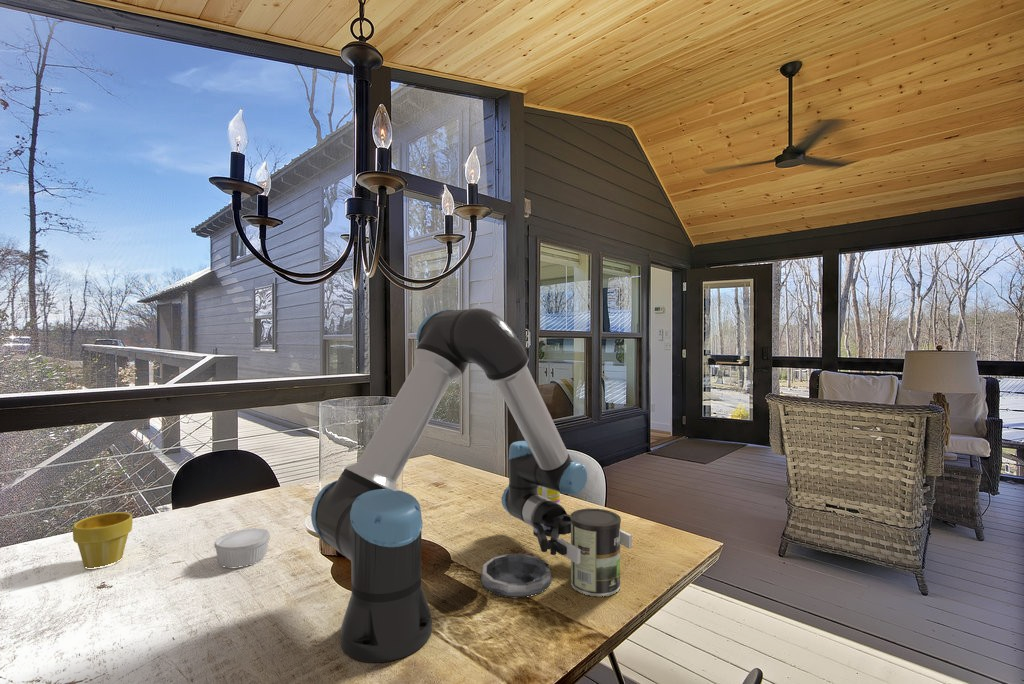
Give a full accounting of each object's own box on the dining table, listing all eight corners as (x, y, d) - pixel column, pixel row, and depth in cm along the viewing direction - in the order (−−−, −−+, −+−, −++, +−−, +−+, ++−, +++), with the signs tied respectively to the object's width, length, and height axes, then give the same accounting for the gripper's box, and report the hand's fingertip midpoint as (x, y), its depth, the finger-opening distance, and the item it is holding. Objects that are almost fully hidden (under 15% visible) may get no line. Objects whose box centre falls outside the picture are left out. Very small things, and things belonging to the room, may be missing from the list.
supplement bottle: (563, 502, 152) (563, 460, 152) (553, 508, 146) (553, 465, 146) (544, 498, 156) (544, 458, 155) (533, 504, 150) (534, 462, 150)
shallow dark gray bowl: (503, 605, 94) (503, 593, 94) (469, 573, 107) (469, 562, 107) (565, 585, 102) (565, 574, 101) (526, 557, 114) (526, 547, 114)
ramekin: (224, 551, 117) (224, 529, 117) (275, 547, 120) (274, 525, 120) (206, 574, 107) (206, 549, 106) (263, 568, 109) (263, 544, 109)
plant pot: (137, 562, 112) (136, 519, 112) (76, 578, 104) (76, 532, 104) (128, 548, 119) (127, 508, 119) (70, 563, 111) (70, 520, 111)
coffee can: (620, 574, 106) (620, 509, 106) (620, 600, 96) (621, 528, 96) (572, 570, 108) (572, 506, 108) (567, 594, 98) (568, 523, 98)
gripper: (586, 521, 124) (649, 553, 106) (499, 542, 111) (555, 583, 93) (586, 491, 124) (649, 518, 106) (499, 509, 111) (555, 543, 93)
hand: (605, 549), depth 99 cm, fingers open, 13 cm apart
